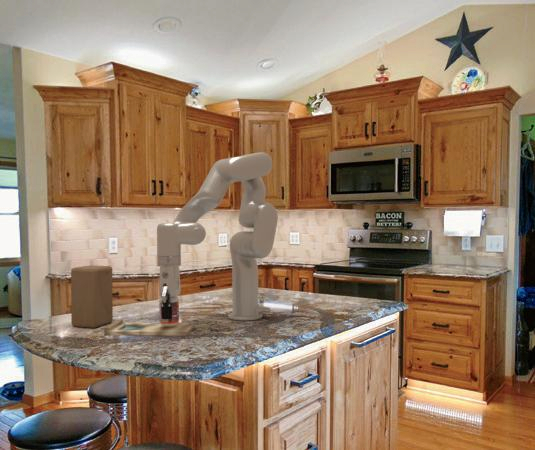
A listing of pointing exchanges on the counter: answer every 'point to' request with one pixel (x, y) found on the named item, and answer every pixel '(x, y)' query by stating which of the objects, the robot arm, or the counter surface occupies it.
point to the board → (147, 329)
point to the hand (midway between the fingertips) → (169, 316)
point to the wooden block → (91, 296)
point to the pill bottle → (174, 312)
